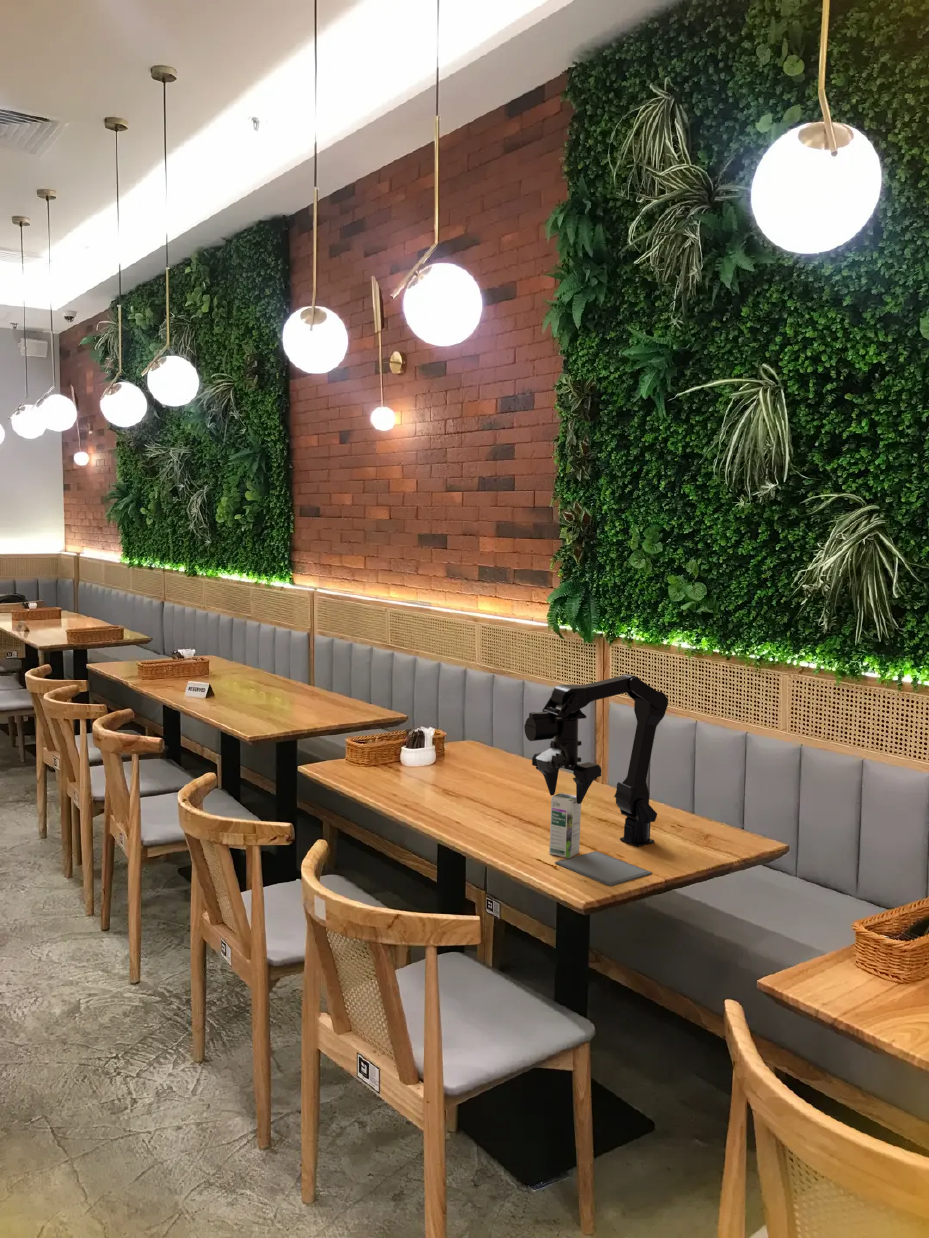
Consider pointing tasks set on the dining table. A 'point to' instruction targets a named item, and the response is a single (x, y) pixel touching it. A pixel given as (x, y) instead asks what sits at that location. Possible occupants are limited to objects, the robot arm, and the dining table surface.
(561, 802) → the syrup box
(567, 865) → the mat
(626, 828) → the robot arm
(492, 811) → the dining table surface
